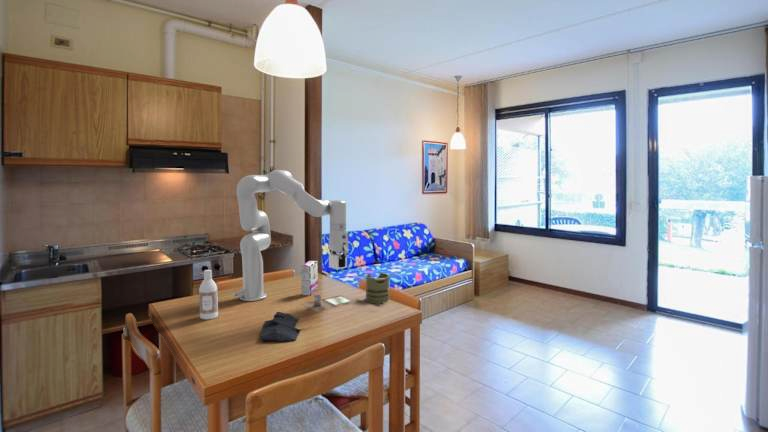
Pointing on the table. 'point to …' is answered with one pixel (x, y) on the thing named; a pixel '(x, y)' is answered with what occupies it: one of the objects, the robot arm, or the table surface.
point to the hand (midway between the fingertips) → (337, 265)
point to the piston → (377, 288)
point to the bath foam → (208, 297)
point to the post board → (327, 302)
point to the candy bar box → (309, 277)
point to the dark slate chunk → (280, 328)
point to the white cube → (336, 261)
